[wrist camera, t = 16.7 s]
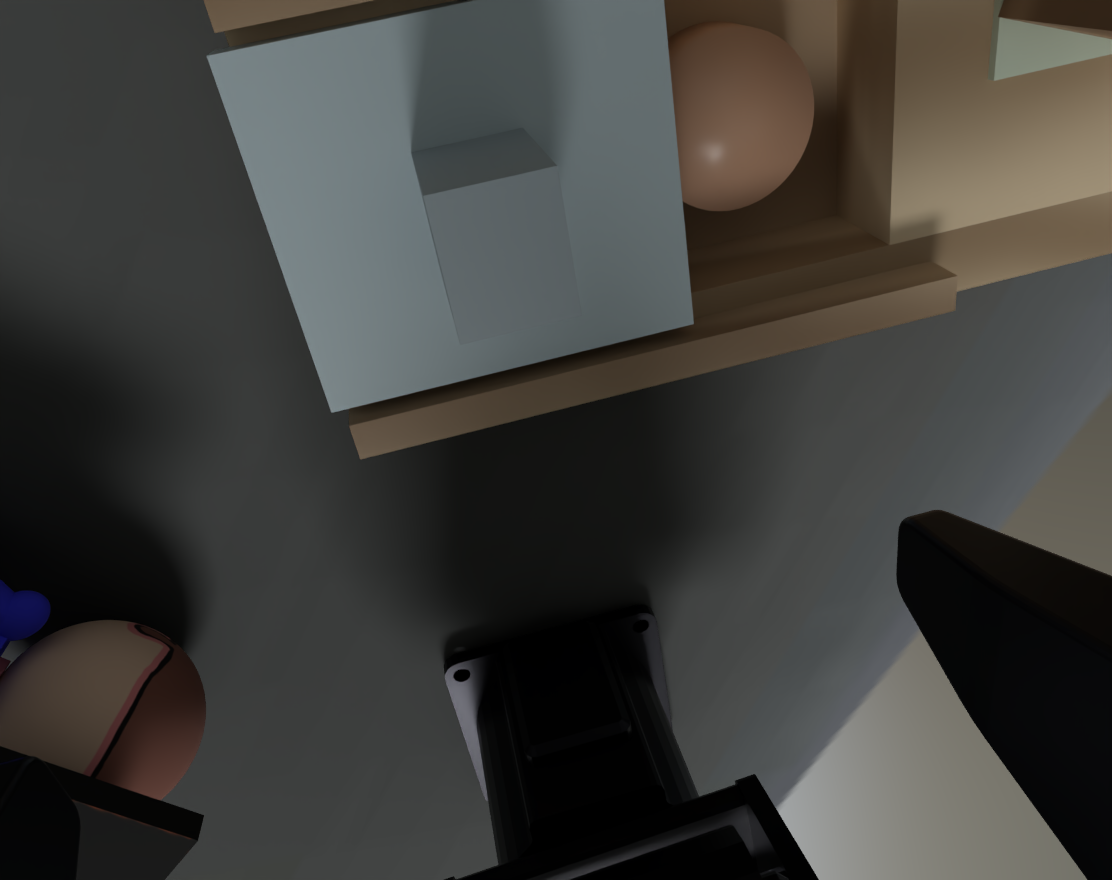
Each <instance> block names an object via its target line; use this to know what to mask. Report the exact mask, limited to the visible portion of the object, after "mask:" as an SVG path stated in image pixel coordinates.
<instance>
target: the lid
mask: <svg viewBox="0 0 1112 880" xmlns="http://www.w3.org/2000/svg"><path fill="white" fill-rule="evenodd" d="M207 58H208V61H209V64H210V67H211V70H212V73H213V75H214V78H215V81H216V84H217V87H218V90H219V93H220V95H221V98H222V101H223V104H224V107H225V110H226V113H227V115H228V118H229V121H230V124H231V127H232V130H233V133H234V135H235V138H236V141H237V144H238V147H239V150H240V153H241V155H242V158H243V161H244V164H245V167H246V170H247V173H248V175H249V178H250V181H251V184H252V187H253V190H254V193H255V195H256V198H257V201H258V204H259V207H260V210H261V212H262V215H263V218H264V221H265V224H266V227H267V230H268V232H269V235H270V238H271V241H272V244H273V247H274V250H275V252H276V255H277V258H278V261H279V264H280V267H281V270H282V272H283V275H284V278H285V281H286V284H287V287H288V290H289V292H290V295H291V298H292V301H293V304H294V307H295V310H296V312H297V315H298V318H299V321H300V324H301V327H302V330H303V332H304V335H305V338H306V341H307V344H308V347H309V350H310V352H311V355H312V358H313V361H314V364H315V367H316V370H317V372H318V375H319V378H320V381H321V384H322V387H323V390H324V392H325V395H326V398H327V401H328V404H329V407H330V410H331V412H332V413H333V412H337V411H341V410H345V409H349V408H353V407H358V406H362V405H366V404H370V403H374V402H378V401H382V400H386V399H390V398H394V397H398V396H402V395H406V394H411V393H415V392H419V391H423V390H427V389H431V388H435V387H439V386H443V385H447V384H451V383H455V382H460V381H464V380H468V379H472V378H476V377H480V376H484V375H488V374H492V373H496V372H500V371H504V370H508V369H513V368H517V367H521V366H525V365H529V364H533V363H537V362H541V361H545V360H549V359H553V358H557V357H561V356H566V355H570V354H574V353H578V352H582V351H586V350H590V349H594V348H598V347H602V346H606V345H610V344H614V343H619V342H623V341H627V340H631V339H635V338H639V337H643V336H647V335H651V334H655V333H659V332H663V331H668V330H672V329H676V328H680V327H684V326H688V325H692V324H694V320H693V309H692V298H691V287H690V277H689V266H688V255H687V244H686V233H685V223H684V212H683V201H682V190H681V179H680V168H679V158H678V147H677V136H676V125H675V114H674V104H673V93H672V82H671V71H670V60H669V49H668V39H667V28H666V17H665V6H664V0H455V1H450V2H445V3H441V4H436V5H431V6H426V7H421V8H416V9H411V10H407V11H402V12H397V13H392V14H387V15H382V16H378V17H373V18H368V19H363V20H358V21H353V22H348V23H344V24H339V25H334V26H329V27H324V28H319V29H315V30H310V31H305V32H300V33H295V34H290V35H285V36H281V37H276V38H271V39H266V40H261V41H256V42H252V43H247V44H242V45H237V46H232V47H227V48H223V49H218V50H213V51H212V52H211V53H210V54H208V55H207Z"/></svg>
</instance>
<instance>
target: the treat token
mask: <svg viewBox="0 0 1112 880" xmlns="http://www.w3.org/2000/svg"><path fill="white" fill-rule="evenodd" d="M668 49H669V60H670V71H671V82H672V93H673V104H674V114H675V125H676V136H677V147H678V158H679V168H680V179H681V190H682V201H683V202H685V203H687V204H689V205H691V206H694V207H696V208H699V209H704V210H708V211H730V210H735V209H740V208H743V207H746V206H749V205H751V204H753V203H755V202H757V201H759V200H761V199H763V198H764V197H766V196H767V195H769V194H770V193H771V192H773V191H774V190H775V189H776V188H778V187H779V186H780V185H781V184H782V183H783V182H784V181H785V180H786V178H787V177H788V176H789V175H790V174H791V172H792V171H793V170H794V168H795V167H796V165H797V164H798V162H799V160H800V159H801V157H802V155H803V153H804V151H805V148H806V146H807V143H808V140H809V137H810V134H811V130H812V125H813V118H814V95H813V88H812V84H811V79H810V77H809V74H808V71H807V69H806V67H805V65H804V63H803V61H802V59H801V58H800V57H799V55H798V54H797V53H796V51H795V50H794V49H793V48H792V47H791V46H790V45H789V44H788V43H787V42H785V41H784V40H782V39H781V38H780V37H778V36H776V35H774V34H772V33H770V32H768V31H765V30H762V29H758V28H754V27H750V26H745V25H740V24H736V23H731V22H724V21H709V22H703V23H698V24H695V25H692V26H689V27H687V28H685V29H683V30H681V31H678V32H677V33H675V34H674V35H672V36H671V37H669V38H668Z"/></svg>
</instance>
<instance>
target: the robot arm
mask: <svg viewBox="0 0 1112 880" xmlns="http://www.w3.org/2000/svg"><path fill="white" fill-rule="evenodd" d="M896 576H897V585H898V588H899V592H900V594H901V597H902V599H903V601H904V602H905V604H906V606H907V608H908V609H909V611H910V613H911V615H912V616H913V618H914V620H915V622H916V623H917V625H918V627H919V629H920V630H921V632H922V634H923V636H924V637H925V639H926V641H927V642H928V644H929V646H930V648H931V650H932V651H933V653H934V655H935V657H936V658H937V660H938V662H939V664H940V665H941V667H942V669H943V670H944V672H945V674H946V676H947V678H948V679H949V681H950V683H951V685H952V686H953V688H954V690H955V692H956V693H957V695H958V697H959V699H960V700H961V702H962V704H963V705H964V707H965V708H966V710H967V712H968V713H969V715H970V717H971V718H972V720H973V721H974V723H975V724H976V726H977V727H978V729H979V730H980V731H981V733H982V734H983V736H984V737H985V739H986V740H987V742H988V743H989V744H990V746H991V747H992V749H993V750H994V751H995V753H996V754H997V755H998V757H999V758H1000V760H1001V761H1002V762H1003V764H1004V765H1005V766H1006V768H1007V769H1008V770H1009V772H1010V773H1011V775H1012V776H1013V778H1014V779H1015V780H1016V782H1017V783H1018V784H1019V786H1020V787H1021V788H1022V790H1023V791H1024V793H1025V794H1026V795H1027V797H1028V798H1029V800H1030V801H1031V802H1032V804H1033V805H1034V807H1035V808H1036V809H1037V811H1038V812H1039V813H1040V815H1041V816H1042V818H1043V819H1044V820H1045V822H1046V823H1047V824H1048V825H1049V827H1050V829H1051V830H1052V831H1053V833H1054V834H1055V835H1056V837H1057V838H1058V839H1059V841H1060V842H1061V844H1062V845H1063V846H1064V848H1065V849H1066V851H1067V852H1068V853H1069V855H1070V856H1071V858H1072V859H1073V860H1074V862H1075V863H1076V864H1077V866H1078V867H1079V869H1080V870H1081V871H1082V873H1083V874H1084V875H1085V877H1086V878H1087V880H1112V576H1111V575H1108V574H1106V573H1103V572H1100V571H1098V570H1095V569H1093V568H1090V567H1087V566H1085V565H1082V564H1080V563H1077V562H1075V561H1072V560H1069V559H1067V558H1064V557H1062V556H1059V555H1057V554H1054V553H1051V552H1049V551H1046V550H1044V549H1041V548H1038V547H1036V546H1033V545H1031V544H1028V543H1026V542H1023V541H1021V540H1018V539H1015V538H1013V537H1010V536H1008V535H1005V534H1003V533H1000V532H998V531H995V530H992V529H990V528H987V527H985V526H982V525H980V524H977V523H974V522H972V521H969V520H967V519H964V518H962V517H959V516H956V515H954V514H951V513H949V512H946V511H942V510H932V511H929V512H925V513H921V514H918V515H914V516H910V517H907V518H905V519H904V520H903V521H902V522H901V524H900V526H899V532H898V552H897V573H896ZM639 620H643V621H642V622H641V623H638V624H635V622H637V621H639ZM459 669H466V670H465V671H463V672H456V671H457V670H459ZM444 673H445V680H446V683H447V686H448V689H449V692H450V695H451V698H452V701H453V704H454V707H455V710H456V713H457V716H458V719H459V723H460V726H461V729H462V732H463V735H464V738H465V741H466V744H467V747H468V750H469V753H470V756H471V759H472V762H473V765H474V768H475V771H476V774H477V777H478V780H479V783H480V786H481V789H482V792H483V795H484V797H485V799H486V800H487V801H488V802H489V809H490V815H491V821H492V827H493V834H494V840H495V846H496V852H497V858H498V865H497V866H494V867H491V868H488V869H486V870H483V871H480V872H477V873H474V874H471V875H468V876H465V877H462V878H459V879H455V877H454V876H453V877H450V878H448V879H445V880H819V879H818V878H817V876H816V874H815V873H814V871H813V869H812V868H811V866H810V864H809V863H808V861H807V859H806V858H805V856H804V854H803V853H802V851H801V849H800V848H799V846H798V844H797V843H796V841H795V840H794V838H793V836H792V835H791V833H790V831H789V830H788V828H787V826H786V825H785V823H784V822H783V820H782V818H781V816H780V815H779V813H778V811H777V810H776V808H775V806H774V805H773V803H772V801H771V800H770V798H769V796H768V795H767V793H766V791H765V790H764V788H763V787H762V785H761V783H760V782H759V780H758V778H757V777H756V775H755V774H753V775H750V776H747V777H744V778H742V779H739V780H736V781H735V785H732V786H729V787H726V788H724V789H721V790H718V791H715V792H712V793H709V794H706V795H703V796H700V797H699V795H698V793H697V790H696V788H695V785H694V783H693V780H692V778H691V775H690V773H689V771H688V768H687V766H686V763H685V761H684V758H683V756H682V753H681V751H680V748H679V746H678V743H677V741H676V739H675V736H674V734H673V730H672V723H671V716H670V709H669V702H668V695H667V688H666V681H665V674H664V668H663V661H662V654H661V647H660V640H659V633H658V626H657V621H656V619H655V616H654V614H653V612H652V610H651V608H649V607H648V606H646V605H634V606H631V607H627V608H623V609H620V610H616V611H612V612H609V613H605V614H601V615H598V616H594V617H590V618H587V619H583V620H579V621H576V622H572V623H568V624H565V625H561V626H557V627H554V628H550V629H546V630H543V631H539V632H535V633H532V634H528V635H524V636H521V637H517V638H513V639H510V640H506V641H502V642H499V643H495V644H491V645H488V646H484V647H480V648H477V649H473V650H469V651H466V652H462V653H458V654H455V655H453V656H451V657H450V658H449V659H447V660H446V662H445V664H444ZM80 831H81V825H80V817H79V813H78V810H77V807H76V805H75V804H74V802H73V801H72V799H71V798H70V796H69V795H68V794H67V792H66V791H65V790H64V788H63V787H62V786H61V784H60V783H59V781H58V780H57V779H56V777H55V776H54V775H53V773H52V772H51V770H50V769H49V768H48V766H47V765H46V764H45V763H44V761H43V760H41V759H39V758H38V757H35V756H26V757H23V758H19V759H15V760H12V761H8V762H4V763H1V764H0V880H76V876H77V865H78V854H79V843H80Z"/></svg>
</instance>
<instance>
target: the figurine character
mask: <svg viewBox="0 0 1112 880" xmlns="http://www.w3.org/2000/svg"><path fill="white" fill-rule="evenodd" d="M49 615H50V603H49V601H48V599H47V598H46V597H45V596H44V595H42V594H41V593H38V592H35V591H28V590H27V591H18V592H14V591H12V590H11V589H10V588H9V587H8V586H7V585H6V584H5V583H4V582H3V581H2V580H1V579H0V764H1V763H4V762H8V761H12V760H15V759H19V758H23V757H26V756H35V757H38V758H39V759H41V760H43V761H44V763H45V764H46V765H47V766H48V768H49V769H50V770H51V772H52V773H53V775H54V776H55V777H56V779H57V780H58V781H59V783H60V784H61V786H62V787H63V788H64V790H65V791H66V792H67V794H68V795H69V796H70V798H71V799H72V801H73V802H74V804H75V805H76V807H77V810H78V813H79V817H80V825H81V831H80V843H79V854H78V865H77V876H76V880H165V879H166V877H167V876H168V875H169V874H170V873H171V872H172V870H173V869H174V868H175V867H176V866H177V865H178V863H179V862H180V861H181V860H182V859H183V857H184V856H185V855H186V854H187V853H188V852H189V850H190V849H191V848H192V847H193V846H194V845H195V843H196V842H197V841H198V838H199V834H200V830H201V826H202V822H203V817H204V815H201V814H199V813H196V812H193V811H190V810H187V809H184V808H181V807H178V806H175V805H172V804H169V803H166V802H163V801H160V800H161V799H162V798H164V797H165V796H166V795H167V794H168V793H169V792H170V791H171V790H172V789H173V788H174V787H175V786H176V784H177V783H178V782H179V781H180V779H181V778H182V777H183V776H184V774H185V773H186V771H187V770H188V768H189V766H190V765H191V763H192V761H193V759H194V757H195V755H196V753H197V751H198V748H199V745H200V742H201V739H202V735H203V732H204V726H205V719H206V702H205V693H204V689H203V685H202V682H201V679H200V676H199V674H198V671H197V669H196V667H195V666H194V664H193V662H192V661H191V659H190V658H189V657H188V655H187V654H186V653H185V652H184V651H183V649H182V648H181V647H180V646H179V645H177V644H176V643H175V642H174V641H173V640H171V639H170V638H169V637H167V636H166V635H164V634H162V633H160V632H159V631H157V630H155V629H152V628H150V627H147V626H144V625H141V624H138V623H133V622H128V621H120V620H99V621H91V622H85V623H80V624H76V625H73V626H69V627H67V628H64V629H61V630H59V631H57V632H55V633H52V634H50V635H48V636H47V637H45V638H43V639H41V640H40V641H38V642H37V643H35V644H34V645H32V646H31V647H30V648H28V649H27V650H26V651H25V652H24V653H22V654H21V655H20V656H19V657H18V658H17V659H16V660H15V661H14V662H13V663H12V664H11V665H10V666H9V667H8V665H9V663H10V661H9V660H7V659H4V658H2V657H1V655H2V654H3V652H4V650H5V649H6V647H7V646H8V644H9V642H10V641H15V640H20V639H24V638H26V637H29V636H31V635H33V634H34V633H36V632H37V631H38V630H40V629H41V628H42V627H43V626H44V624H45V623H46V622H47V620H48V618H49ZM7 667H8V668H7ZM6 668H7V669H6ZM5 670H6V671H5ZM4 671H5V672H4Z"/></svg>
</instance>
